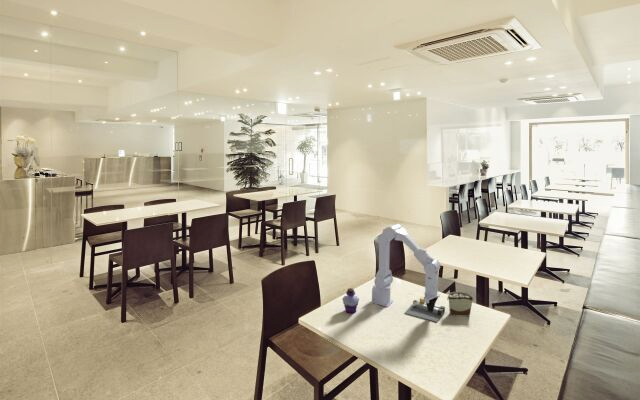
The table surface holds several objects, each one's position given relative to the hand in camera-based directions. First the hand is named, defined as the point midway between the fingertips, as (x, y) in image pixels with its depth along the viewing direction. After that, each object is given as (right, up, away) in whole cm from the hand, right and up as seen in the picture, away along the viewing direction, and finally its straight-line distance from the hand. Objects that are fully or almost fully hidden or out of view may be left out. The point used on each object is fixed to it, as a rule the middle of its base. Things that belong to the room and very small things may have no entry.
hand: (430, 311), depth 162 cm
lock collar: (-1, +1, +10) cm, 10 cm away
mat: (-1, -3, +5) cm, 6 cm away
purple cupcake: (-38, -3, +9) cm, 39 cm away
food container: (+16, -3, +5) cm, 17 cm away
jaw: (0, -2, +6) cm, 6 cm away
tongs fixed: (+2, -2, +9) cm, 9 cm away
